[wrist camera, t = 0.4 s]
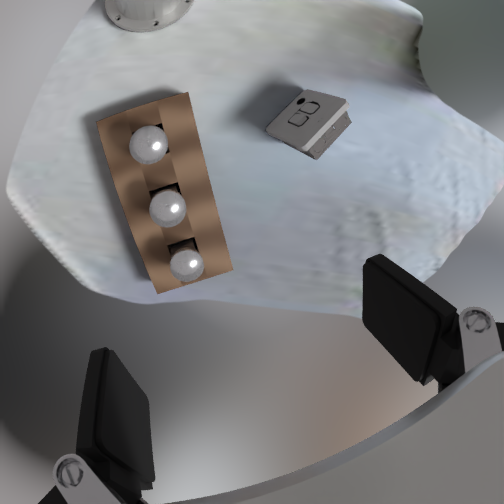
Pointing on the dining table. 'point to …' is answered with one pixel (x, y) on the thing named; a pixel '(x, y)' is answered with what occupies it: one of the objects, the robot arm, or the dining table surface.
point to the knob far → (186, 261)
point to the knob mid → (167, 207)
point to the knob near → (148, 144)
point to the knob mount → (162, 174)
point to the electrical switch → (311, 122)
